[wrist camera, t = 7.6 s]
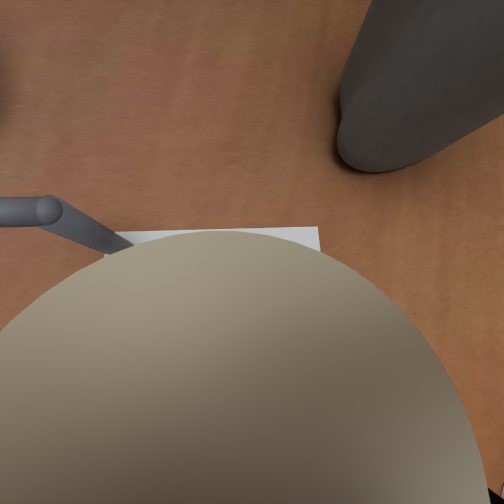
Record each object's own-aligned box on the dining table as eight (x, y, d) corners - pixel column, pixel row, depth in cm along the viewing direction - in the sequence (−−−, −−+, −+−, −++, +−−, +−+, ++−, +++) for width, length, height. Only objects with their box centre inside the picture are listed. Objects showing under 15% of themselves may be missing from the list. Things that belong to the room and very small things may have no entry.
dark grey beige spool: (296, 352, 16) (595, 558, 3) (210, 423, 14) (87, 1361, 2) (238, 269, 16) (281, 151, 4) (151, 329, 15) (-248, 462, 2)
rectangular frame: (329, 432, 16) (530, 682, 6) (69, 470, 14) (-388, 986, 4) (307, 233, 19) (418, 150, 8) (84, 240, 17) (-156, 139, 6)
